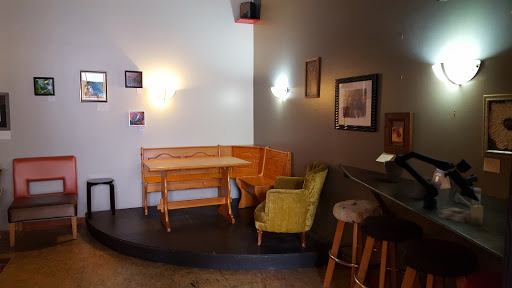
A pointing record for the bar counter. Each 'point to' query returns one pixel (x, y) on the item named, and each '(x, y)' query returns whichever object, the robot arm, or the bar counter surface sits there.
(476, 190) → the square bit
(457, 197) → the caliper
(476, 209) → the beige rectangular block
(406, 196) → the bar counter surface
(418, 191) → the pillar candle
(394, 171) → the plant pot
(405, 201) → the bar counter surface
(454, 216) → the bore block
